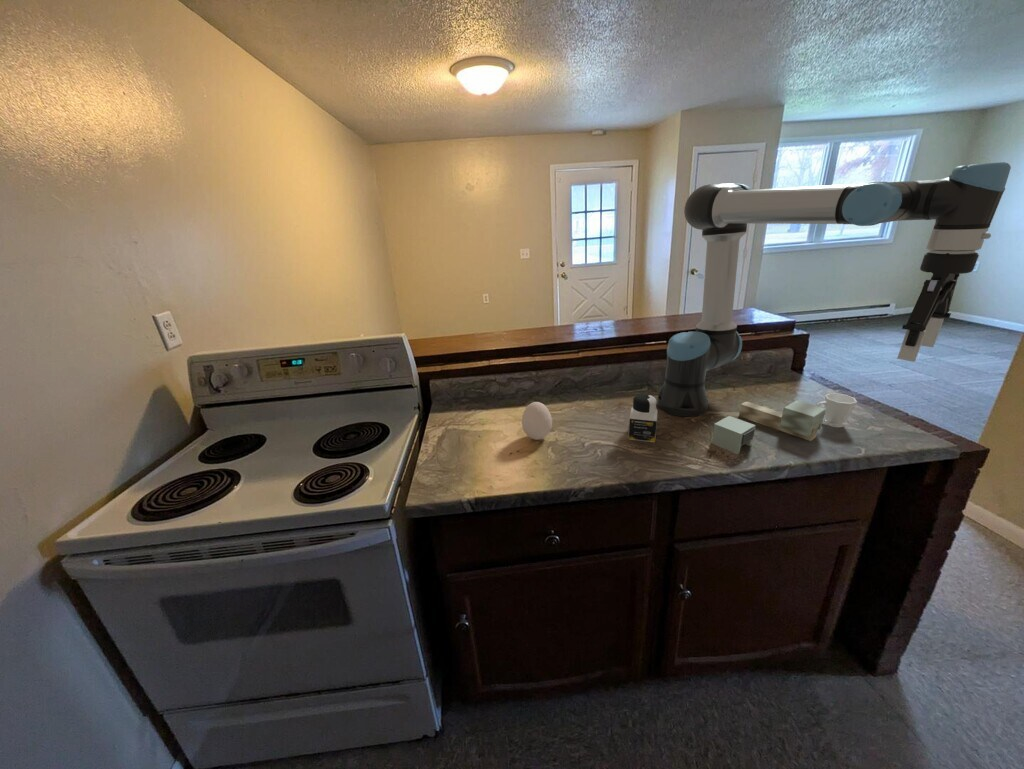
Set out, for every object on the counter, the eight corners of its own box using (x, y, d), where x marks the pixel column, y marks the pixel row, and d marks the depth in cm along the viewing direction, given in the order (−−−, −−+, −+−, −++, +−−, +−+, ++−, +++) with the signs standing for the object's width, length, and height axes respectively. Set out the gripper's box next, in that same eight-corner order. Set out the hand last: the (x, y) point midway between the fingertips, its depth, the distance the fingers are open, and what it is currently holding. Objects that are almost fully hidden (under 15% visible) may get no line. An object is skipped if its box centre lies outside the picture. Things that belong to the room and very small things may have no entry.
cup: (856, 429, 109) (864, 403, 106) (817, 430, 110) (824, 404, 106) (837, 417, 115) (845, 392, 112) (802, 418, 116) (808, 393, 113)
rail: (735, 418, 119) (739, 393, 116) (747, 411, 122) (752, 387, 119) (807, 443, 104) (814, 416, 101) (818, 435, 107) (826, 408, 104)
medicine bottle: (628, 439, 112) (630, 401, 107) (630, 427, 118) (632, 390, 113) (655, 443, 109) (658, 403, 104) (655, 430, 115) (659, 393, 111)
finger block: (711, 443, 107) (714, 423, 105) (725, 434, 111) (729, 415, 108) (738, 454, 101) (742, 434, 99) (753, 445, 105) (757, 425, 103)
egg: (518, 443, 113) (516, 407, 109) (528, 429, 121) (526, 395, 116) (547, 447, 110) (546, 411, 106) (555, 432, 118) (555, 397, 113)
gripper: (963, 259, 70) (922, 371, 78) (993, 246, 82) (954, 343, 91) (907, 257, 75) (873, 361, 84) (942, 245, 88) (910, 337, 96)
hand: (915, 352), depth 87 cm, fingers open, 13 cm apart
